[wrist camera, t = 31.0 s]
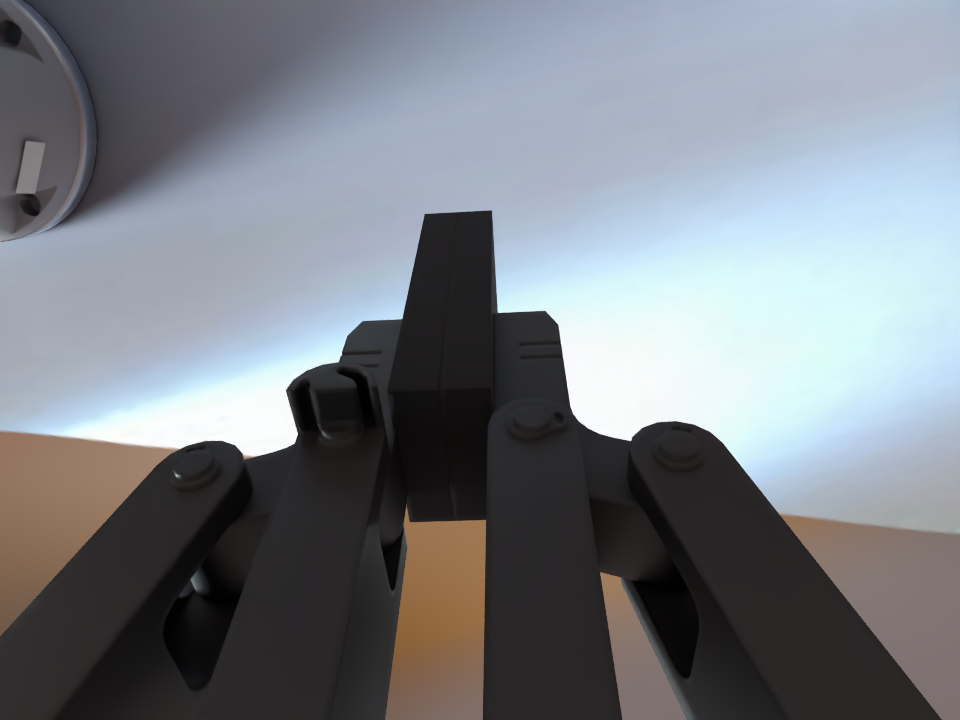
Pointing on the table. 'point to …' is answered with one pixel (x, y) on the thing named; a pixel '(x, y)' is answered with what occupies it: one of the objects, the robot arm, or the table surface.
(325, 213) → the table surface
